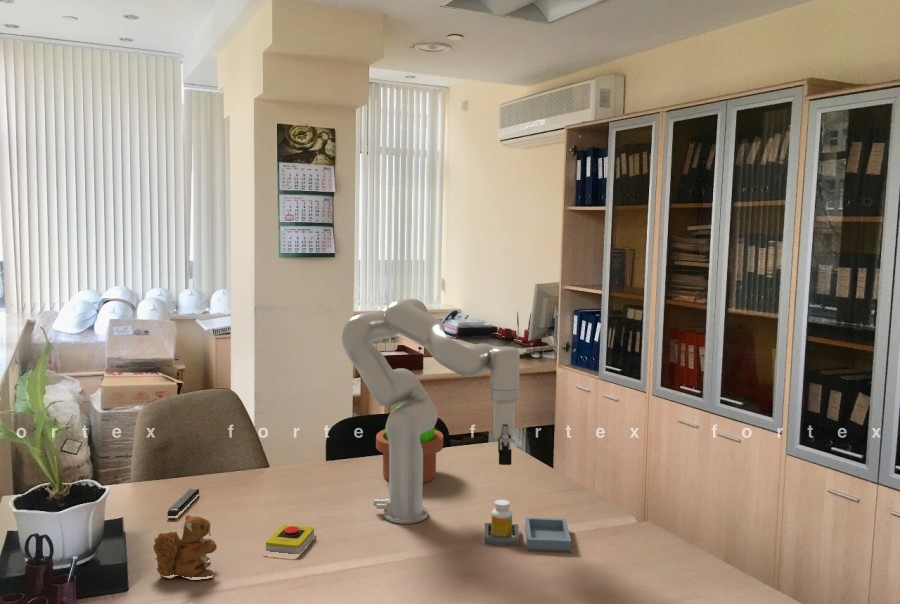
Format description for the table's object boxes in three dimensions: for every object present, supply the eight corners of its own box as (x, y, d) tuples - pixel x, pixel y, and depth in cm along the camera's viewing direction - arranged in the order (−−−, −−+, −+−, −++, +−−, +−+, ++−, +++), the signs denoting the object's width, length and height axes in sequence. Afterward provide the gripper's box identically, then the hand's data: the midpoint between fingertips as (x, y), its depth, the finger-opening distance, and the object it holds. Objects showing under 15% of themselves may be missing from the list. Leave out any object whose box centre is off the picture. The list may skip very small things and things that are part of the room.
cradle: (483, 544, 185) (484, 536, 185) (484, 529, 194) (484, 522, 194) (518, 545, 184) (519, 538, 184) (517, 531, 193) (518, 524, 193)
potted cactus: (441, 488, 225) (443, 410, 222) (372, 486, 225) (372, 408, 222) (443, 465, 247) (444, 394, 244) (379, 464, 247) (380, 392, 244)
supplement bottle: (510, 543, 186) (511, 507, 185) (489, 541, 187) (490, 505, 186) (512, 534, 191) (513, 499, 190) (492, 532, 192) (493, 497, 191)
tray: (527, 550, 182) (527, 539, 181) (525, 527, 196) (525, 517, 195) (570, 552, 181) (571, 541, 181) (565, 529, 195) (565, 519, 195)
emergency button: (317, 520, 189) (296, 545, 174) (317, 536, 189) (296, 562, 174) (284, 517, 190) (260, 541, 176) (284, 533, 191) (260, 558, 176)
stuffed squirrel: (216, 579, 164) (215, 524, 163) (150, 587, 160) (149, 530, 159) (217, 560, 174) (216, 507, 172) (155, 567, 170) (153, 513, 168)
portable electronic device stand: (176, 521, 197) (176, 510, 197) (167, 520, 197) (166, 510, 197) (200, 497, 215) (199, 487, 214) (191, 496, 215) (191, 487, 215)
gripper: (490, 387, 195) (490, 448, 196) (490, 401, 178) (490, 469, 179) (517, 387, 194) (517, 449, 196) (520, 402, 177) (520, 469, 179)
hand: (504, 458), depth 187 cm, fingers open, 9 cm apart
